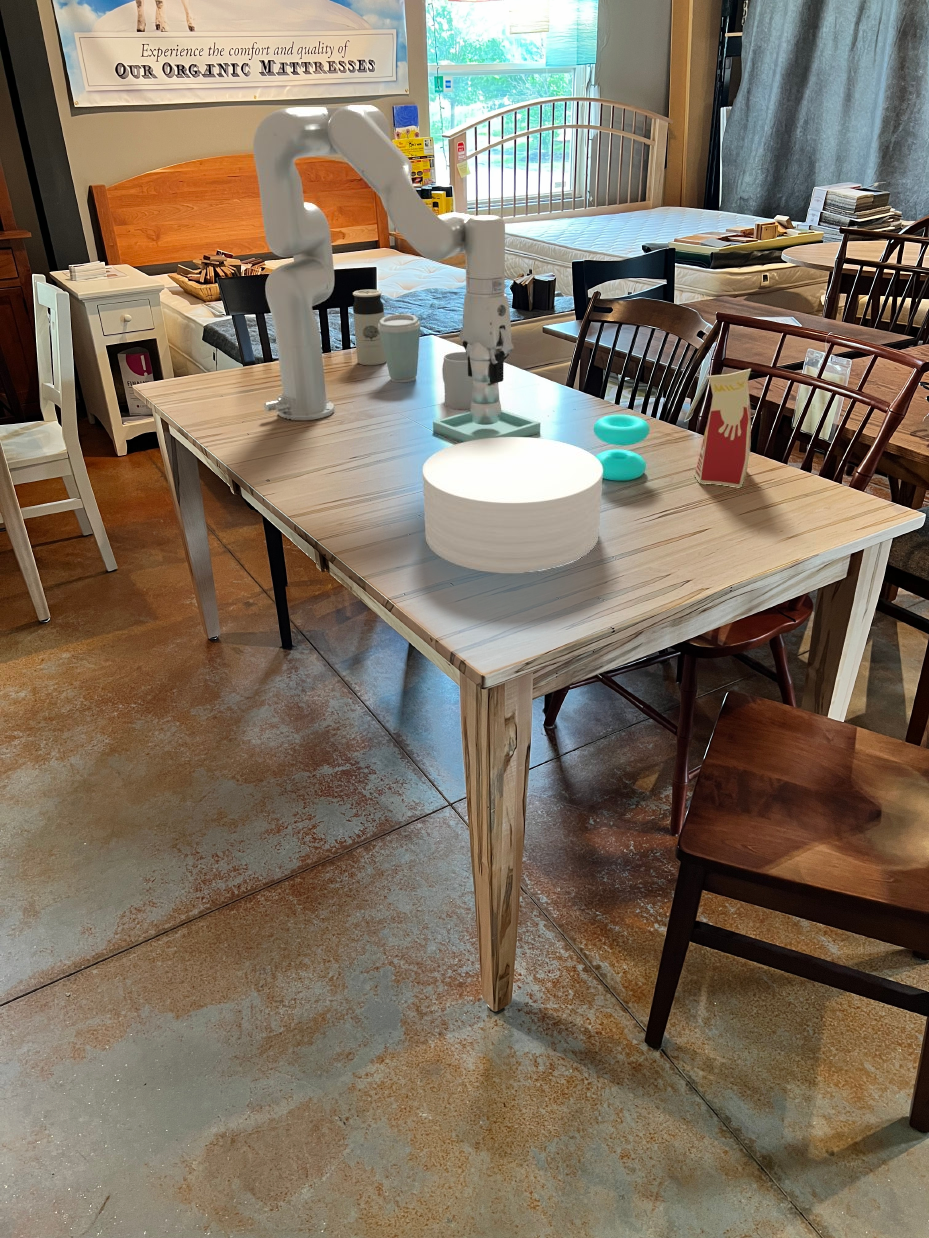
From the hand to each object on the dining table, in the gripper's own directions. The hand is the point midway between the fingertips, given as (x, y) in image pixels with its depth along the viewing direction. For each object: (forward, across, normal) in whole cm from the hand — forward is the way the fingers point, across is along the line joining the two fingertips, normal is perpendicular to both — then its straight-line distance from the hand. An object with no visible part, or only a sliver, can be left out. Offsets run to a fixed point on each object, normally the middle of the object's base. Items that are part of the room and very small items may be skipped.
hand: (485, 378), depth 177 cm
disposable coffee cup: (+12, +45, -11) cm, 48 cm away
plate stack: (+12, -40, +29) cm, 51 cm away
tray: (+11, 0, 0) cm, 11 cm away
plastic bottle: (+10, 0, 0) cm, 10 cm away
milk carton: (+12, -48, -15) cm, 52 cm away
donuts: (+12, -34, -3) cm, 36 cm away
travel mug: (+12, +64, -15) cm, 67 cm away
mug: (+12, +20, -9) cm, 25 cm away
